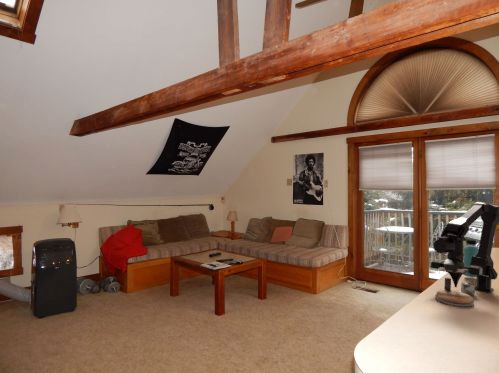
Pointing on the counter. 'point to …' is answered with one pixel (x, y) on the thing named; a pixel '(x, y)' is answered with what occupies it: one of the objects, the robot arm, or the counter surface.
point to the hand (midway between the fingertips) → (455, 287)
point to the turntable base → (454, 303)
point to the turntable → (453, 294)
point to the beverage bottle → (469, 255)
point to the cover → (468, 288)
